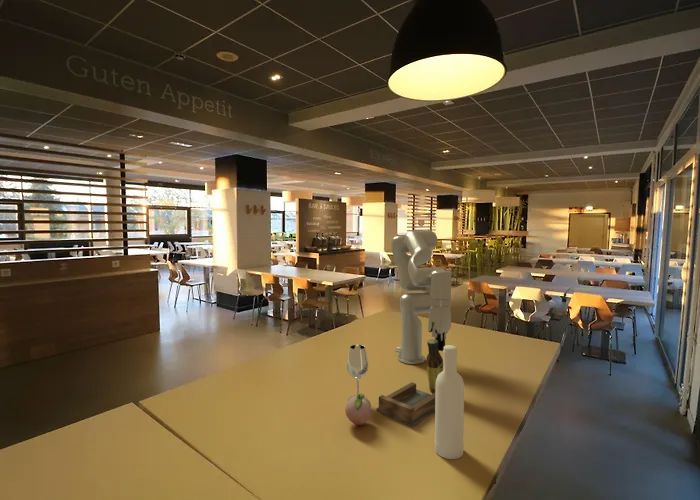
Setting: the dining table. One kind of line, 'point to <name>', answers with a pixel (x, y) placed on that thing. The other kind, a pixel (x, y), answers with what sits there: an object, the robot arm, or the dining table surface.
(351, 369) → the wineglass
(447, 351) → the bottle
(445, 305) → the robot arm
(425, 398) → the cradle
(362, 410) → the decorative fruit
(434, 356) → the sauce bottle
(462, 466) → the dining table surface
